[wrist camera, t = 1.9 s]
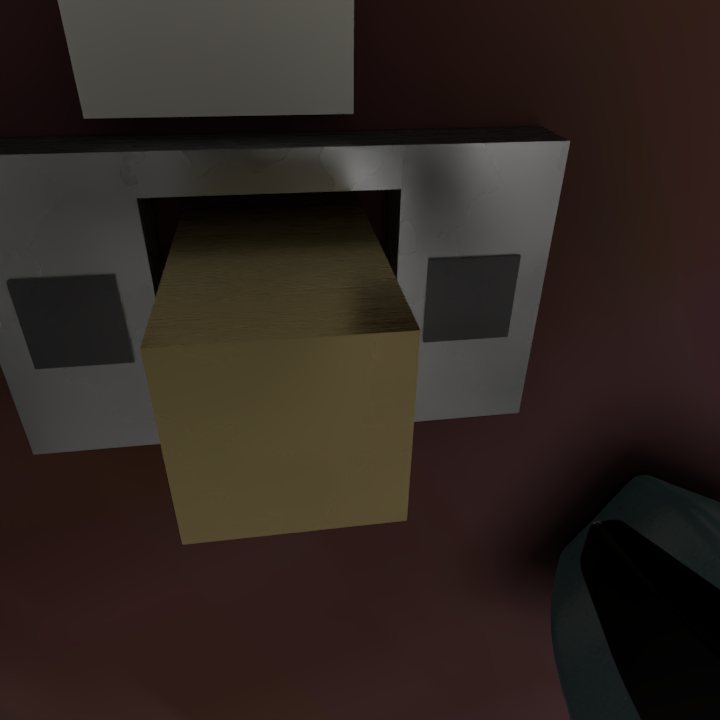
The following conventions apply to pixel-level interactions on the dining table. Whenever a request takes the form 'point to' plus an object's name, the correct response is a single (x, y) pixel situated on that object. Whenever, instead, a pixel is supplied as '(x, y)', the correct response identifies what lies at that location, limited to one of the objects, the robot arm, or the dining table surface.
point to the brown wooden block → (281, 371)
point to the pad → (211, 57)
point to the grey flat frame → (265, 176)
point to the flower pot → (574, 604)
